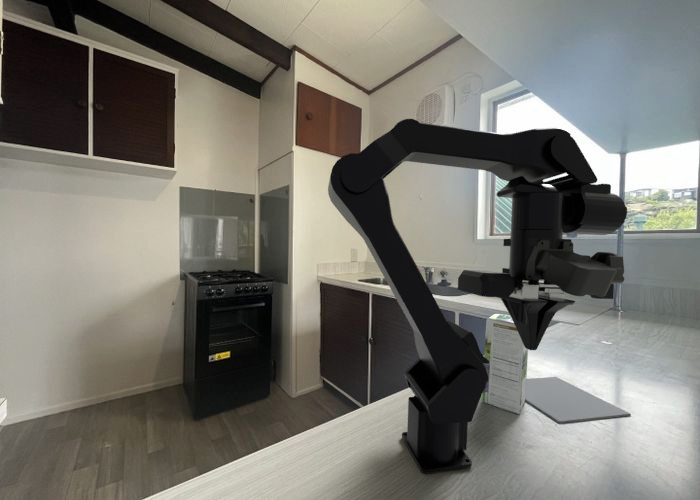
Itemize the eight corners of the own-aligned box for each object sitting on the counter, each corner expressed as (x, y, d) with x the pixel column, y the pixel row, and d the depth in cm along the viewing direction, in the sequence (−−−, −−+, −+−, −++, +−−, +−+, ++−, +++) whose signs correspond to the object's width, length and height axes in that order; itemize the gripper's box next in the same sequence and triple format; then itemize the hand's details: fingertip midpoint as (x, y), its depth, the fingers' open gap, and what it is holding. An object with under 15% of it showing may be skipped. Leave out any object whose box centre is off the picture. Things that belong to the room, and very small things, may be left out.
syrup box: (489, 389, 52) (492, 312, 51) (526, 401, 48) (529, 318, 48) (481, 402, 47) (484, 317, 47) (521, 416, 43) (525, 324, 43)
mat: (559, 423, 42) (559, 421, 42) (497, 382, 55) (497, 380, 55) (630, 415, 45) (630, 413, 45) (555, 378, 57) (555, 376, 57)
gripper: (521, 221, 27) (514, 380, 27) (671, 231, 30) (665, 374, 30) (458, 229, 38) (453, 342, 38) (572, 236, 41) (568, 340, 41)
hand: (530, 349), depth 37 cm, fingers closed
